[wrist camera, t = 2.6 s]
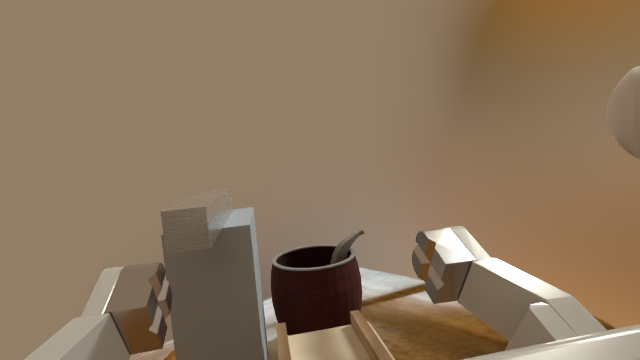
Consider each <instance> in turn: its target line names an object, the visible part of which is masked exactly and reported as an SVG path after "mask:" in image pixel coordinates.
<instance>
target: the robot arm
mask: <svg viewBox="0 0 640 360" xmlns="http://www.w3.org/2000/svg"><path fill="white" fill-rule="evenodd" d="M607 123H608V127H609V130H610V132H611V134H612V136H613V137H614V139H615V141H616V142H617V143H618V144H619V145H620V146H621V147H622V148H623V149H624V150H625V151H627V152H628V153H629V154H631V155H632V156H634V157H636V158H638V159H640V66H638V67H635V68H633V69H631V70H630V71H629V72H628V73H627V74H626V75H625V76H624V77H623V78H622V79H621V80H620V82H619V83H618V84H617V86H616V87H615V89H614V91H613V93H612V95H611V97H610V99H609V103H608V107H607ZM416 242H417V243H418V246H417V247H416V248H415V249H414V250H413V254H412V263H413V267H414V270H415V272H416V274H417V276H418V277H419V278H420V279H422V280H424V281H425V286H424V288H425V290H426V292H427V293H428V295H429V297H430V298H431V300H432V302H433V304H437V303H444V302H452V301H458V303H460V304H461V305H462V306H464V307H465V308H466V309H467V310H469V311H470V312H471V313H473V314H474V315H475V316H477V317H478V318H479V319H481V320H482V321H483V322H485V323H486V324H487V325H489V326H490V327H491V328H492V329H494V330H495V331H496V332H498V333H499V334H500V335H502V336H503V337H504V338H506V339H507V340H508V341H510V342H509V344H508V346H507V348H506V350H505V351H502V352H497V353H492V354H488V355H483V356H478V357H473V358H468V359H463V360H640V324H637V325H632V326H627V327H622V328H617V329H612V330H606V329H605V328H604V327H603V326H602V325H601V324H600V323H599V322H598V321H597V320H596V319H595V318H594V317H593V316H592V315H591V314H590V313H589V312H588V311H587V310H586V309H585V308H584V307H583V306H582V305H581V304H580V303H579V302H578V301H577V300H576V299H575V298H574V297H573V296H571V295H569V294H567V293H565V292H563V291H561V290H559V289H557V288H555V287H553V286H551V285H549V284H547V283H545V282H543V281H541V280H539V279H537V278H535V277H533V276H531V275H529V274H527V273H525V272H523V271H521V270H519V269H517V268H515V267H513V266H511V265H509V264H507V263H505V262H503V261H501V260H499V259H497V258H491V257H490V256H489V255H488V254H487V253H486V252H485V251H484V249H483V248H482V247H481V246H480V245H479V244H478V243H477V242H476V240H475V239H474V238H473V237H472V236H471V235H470V233H469V232H468V231H467V230H466V229H465V228H464V227H462V226H454V227H447V228H439V229H432V230H425V231H419V233H418V234H417V236H416ZM165 273H166V271H165V268H164V265H163V264H162V263H153V264H142V265H133V266H125V267H116V268H106V269H105V270H104V271H103V272H102V273H101V274H100V277H99V279H98V281H97V283H96V285H95V287H94V290H93V292H92V294H91V296H90V298H89V300H88V302H87V304H86V306H85V309H84V311H83V313H82V315H81V317H78V318H74V319H73V320H72V321H70V322H69V323H68V324H67V325H65V326H64V327H63V328H62V329H61V330H59V331H58V332H57V333H56V334H55V335H53V336H52V337H51V338H50V339H49V340H47V341H46V342H45V343H44V344H42V345H41V346H40V347H39V348H38V349H37V350H35V351H34V352H33V353H32V354H30V355H29V356H28V357H27V358H26V359H24V360H128V359H129V358H130V355H131V354H137V353H142V352H147V351H152V350H157V349H163V345H164V340H165V335H166V330H167V325H166V322H165V318H166V317H167V316H168V315H169V314H170V311H171V306H172V292H171V286H170V283H169V282H168V281H167V280H165V279H164V277H165Z"/></svg>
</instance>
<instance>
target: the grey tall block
mask: <svg viewBox="0 0 640 360" xmlns="http://www.w3.org/2000/svg"><path fill="white" fill-rule="evenodd" d="M253 210H254V209H253V207H251V208H241V209H233V213H232V214H231V216H230V218H229V219H228V221H227V222H226V224H225V226H224V227H223V229H222V231H221V232H220V234H219V235H218V237H217V239H216V240H215V242H214V244H213V245H212V247H211V248H210V249H203V250H195V251H187V252H179V253H171V254H166V253H165V245H164V236H163V234H162V235H161V237H162V246H163V254H164V263H165V271H166V280H167V281H168V282H169V283H170V286H171V292H172V306H171V311H170V314H171V322H172V330H173V339H174V348H175V356H176V360H268V347H267V337H266V328H265V318H264V308H263V299H262V288H261V278H260V269H259V259H258V249H257V239H256V229H255V220H254V211H253Z"/></svg>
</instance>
